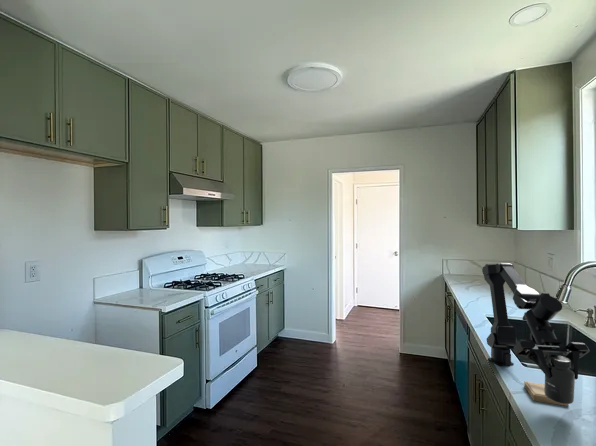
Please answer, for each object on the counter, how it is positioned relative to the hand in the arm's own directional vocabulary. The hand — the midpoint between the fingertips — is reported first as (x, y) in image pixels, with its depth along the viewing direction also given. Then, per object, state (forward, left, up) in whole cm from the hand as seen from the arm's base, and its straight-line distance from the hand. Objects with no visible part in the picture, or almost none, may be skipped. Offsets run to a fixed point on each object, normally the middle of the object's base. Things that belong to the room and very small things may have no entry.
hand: (562, 378), depth 94 cm
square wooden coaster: (-10, +6, -11) cm, 16 cm away
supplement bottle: (-1, 0, -7) cm, 7 cm away
